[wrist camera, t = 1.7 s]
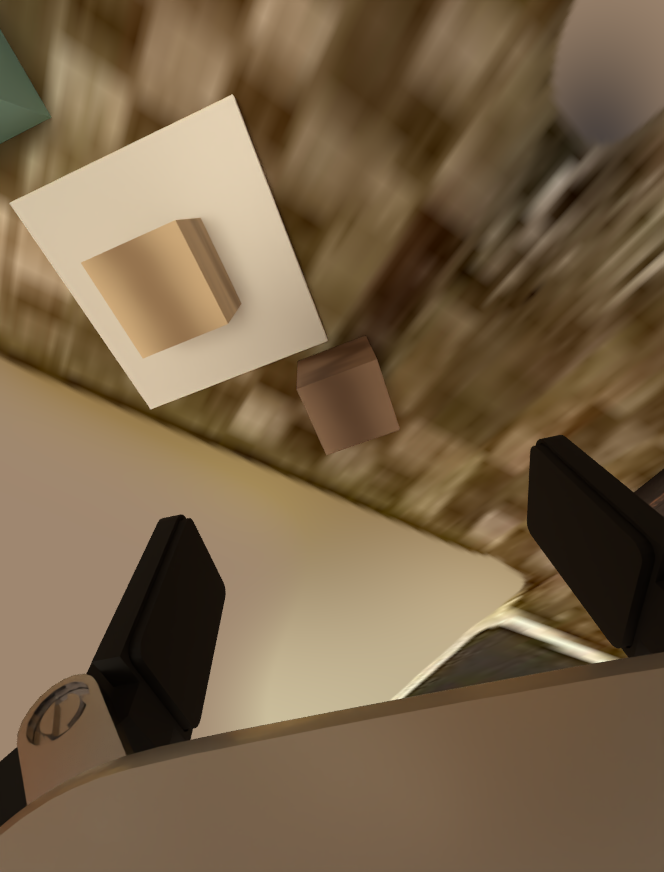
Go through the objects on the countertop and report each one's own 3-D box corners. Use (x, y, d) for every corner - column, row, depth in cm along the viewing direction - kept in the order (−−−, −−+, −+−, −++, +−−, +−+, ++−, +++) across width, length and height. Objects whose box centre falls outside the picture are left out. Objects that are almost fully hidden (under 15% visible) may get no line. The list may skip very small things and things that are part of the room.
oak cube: (200, 217, 27) (175, 219, 21) (241, 303, 30) (228, 323, 24) (123, 252, 27) (80, 262, 22) (170, 332, 30) (142, 358, 25)
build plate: (235, 98, 24) (232, 94, 24) (327, 337, 32) (327, 341, 31) (19, 203, 26) (9, 202, 26) (154, 404, 34) (150, 409, 33)
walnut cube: (365, 334, 32) (376, 359, 27) (386, 397, 35) (400, 429, 30) (297, 360, 33) (296, 389, 28) (323, 419, 36) (326, 455, 31)
